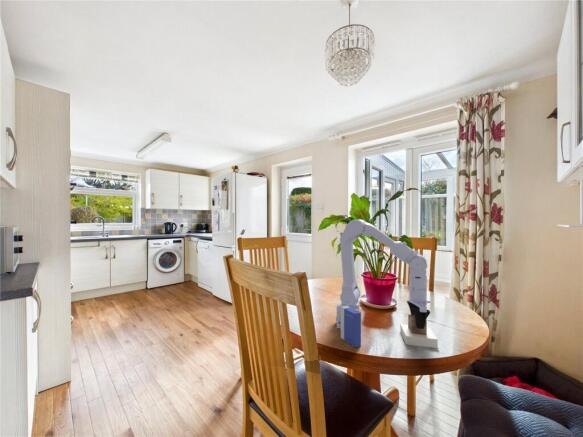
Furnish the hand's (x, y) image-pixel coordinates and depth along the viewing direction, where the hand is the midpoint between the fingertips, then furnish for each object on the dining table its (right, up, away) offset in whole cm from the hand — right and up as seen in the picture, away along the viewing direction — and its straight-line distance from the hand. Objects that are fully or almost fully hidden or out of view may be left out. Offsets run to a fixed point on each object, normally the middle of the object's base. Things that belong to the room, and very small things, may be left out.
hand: (417, 324), depth 90 cm
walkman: (-25, -6, -2) cm, 26 cm away
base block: (0, -5, 0) cm, 5 cm away
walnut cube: (0, -2, 0) cm, 2 cm away
